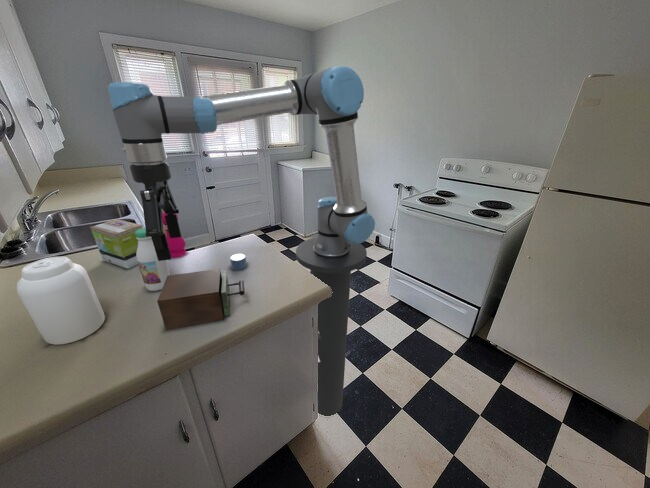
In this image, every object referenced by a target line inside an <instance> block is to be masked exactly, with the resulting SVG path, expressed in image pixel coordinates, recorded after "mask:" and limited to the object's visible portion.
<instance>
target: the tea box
mask: <svg viewBox="0 0 650 488" xmlns="http://www.w3.org/2000/svg"><path fill="white" fill-rule="evenodd" d="M89 228H90V232H91V234H92V236H93V240H94V241H95V244H96V247H97V248H98V251H99V254H100V256H101V257H100V258H101V259H102V261H104V262H106V263H110V264H112V265H116V266H118V267H122V268H124V269H127V270H129V269H131V268H134V267H135V266H139V265H138V261H137V257H136V252H137V248H138V239H136V236H135V231H137V230H139V229H143V225H142V224H139V223H135V222H131V221H127V220H123V219H119V218H114V219H112V220H109V221H105V222H103V223H99V224H96V225H92V226H90V227H89Z"/></svg>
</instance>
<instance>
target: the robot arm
mask: <svg viewBox="0 0 650 488" xmlns="http://www.w3.org/2000/svg"><path fill="white" fill-rule="evenodd" d="M364 89H365V88H364V84H363V82H362V79H361V77H360V75H359V74H358V73H357V72H356V71H355V70H354V69H353V68H351V67H349V66H345V65H339V66H338V65H337V66H331V67H328V68H326V69H321V70H319V71H314V72H312V73H309V74H306V75H304V76H301V77H297V78H294V79H287V80H286V81H284V83H283V84H280V85H273V86H266V87H259V88H251V89H245V90H238V91H237V90H236V91H229V92H222V93H216V94H208V95H201V96H175V95H174V96H173V95H172V96H170V95H169V96H167V95H166V96H165V95H163V96H162V95H155V94H154V92H152V89H151V87H150V85H148V84H146V83H141V82H139V83H137V82H128V81H127V82H125V81H116V82H115V81H114V82H111V83H109V85H108V86H107V92H108V97H109V100H110V104H111V110H112V112H113V115H114V120H115V122H116V125H117V129H118V132H119V135H120V139H121V142H122V145H123V147H122V148H121V150H122V152H124V153H125V155H126V159H127V161H128V163H130V166H129V170H130V174H131V176H132V180H133V182H135V183H137V184H138V183H139V184H143V185H144V190H140V191H139V194H140V197H141V204H142V210H143V211H142V212H143V219H144V228H146V233H145V235H146V237H151V238H152V241H153V245H154V248H155V251H156V255H157V258H158V261H163V260H166V261H170V260H172V257H171V253H170V250H169V246H168V242H167V238H166V235H165V233H163V217H162V211H164V212H165V214H168V215H165V220H166V224H167V228H168V231H169V235H170V238H178V237H181V236H182V233H181V228H180V224H179V221H178V220H179V219H178V220H177V216H178V214H180V210H179V208H178V206H177V204H176V201H175V198H174V196H173V194H172V192H171V189H170V186H169V183H168V181H169V180H170V179H171V178H172V174H171V171H170V166H169V163H168V162H167V160H168V157H167V153H166V148H165V144H164V140H163V135H164V134H166V135H170V134H201V135H204V134H213V133H215V132H216V131H217V128H218V126H221V125H227V124H232V123H238V122H244V121H249V120H255V119H261V118H266V117H272V116H273V117H274V116H278V115H284V114H290V115H291V116H297V115H299V116H300V115H316V116H317V119H318V125H319V126H320V128H322V129H324V131H325V138H326V143H327V150H328V155H329V162H330V168H331V175H332V182H333V187H334V193H335V196H324V197H321V198H319V200H318V201H317V207H316V209H317V235H316V237H315V238H316V240H315V243H314V246H313V251H314V253H315V254H316V255H318V256H320V257H324V258H340V257H344V256H346V255H347V254H348V253H349V246H350V244H348V242H351V243H353V244H362V243H364V242H366V241H367V240H368V239H369V238H370V237H371V235H372V234H373V232H374V230H375V226H376V222H375V218H374V217H373V216H372V215H371V214H370V213H368V206H367V205H368V204H367V202H366V200H364V199H363V198H362V190H361V182H360V181H361V180H360V173H359V171H360V170H359V163H358V162H359V161H358V155H357V152H358V151H357V145H356V134H355V124H356V122H357V120H358V119H359V113H358V111H359V110H360V109H361V107H362V103H363V102H364V97H365V90H364ZM162 134H163V135H162ZM176 214H177V216H176ZM153 230H155V231H153Z"/></svg>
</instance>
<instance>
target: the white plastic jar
mask: <svg viewBox="0 0 650 488" xmlns="http://www.w3.org/2000/svg"><path fill="white" fill-rule="evenodd" d="M20 275H21V277H20V278H19V280H18V281H17V282H16V293H17V295H18V297H19V298H20V300H21V302H22V304H23V306H24V307H25V309H26V311H27V312H28V314H29V316H30V318H31V320H32V322H33V323H34V326H35V327H36V329H37V330H38V332H39V333H40V336H41V337H42V339H43V340H44V341H45V342H46V343H47V344H49V345H55V346H59V345H60V346H61V345H67V344H70V343H75V342H77V341H79V340H83V339H85V338H86V337H88V336H90V335H92V334H93V333H95V332H96V331H97V330H99V329H100V328H101V327H102V326H103V325H104V322H105V320H106V316H105V315H106V314H105V313H104V310H103V307H102V305H101V303H100V301H99V298H98V295H97V293H96V290H95V289H94V286H93V284H92V281H91V279H90V276H89V274H88V272H87V270H86V269H85V267H83V265H80V264H78V263H75V262H73V261H72V260H71V259H70V258H69V257H67V256H62V255H61V256H50V257H46V258H41V259H39V260H36V261H33V262H30V263H29V264H27V265H25V266H24V267H23V268H21V274H20Z"/></svg>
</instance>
